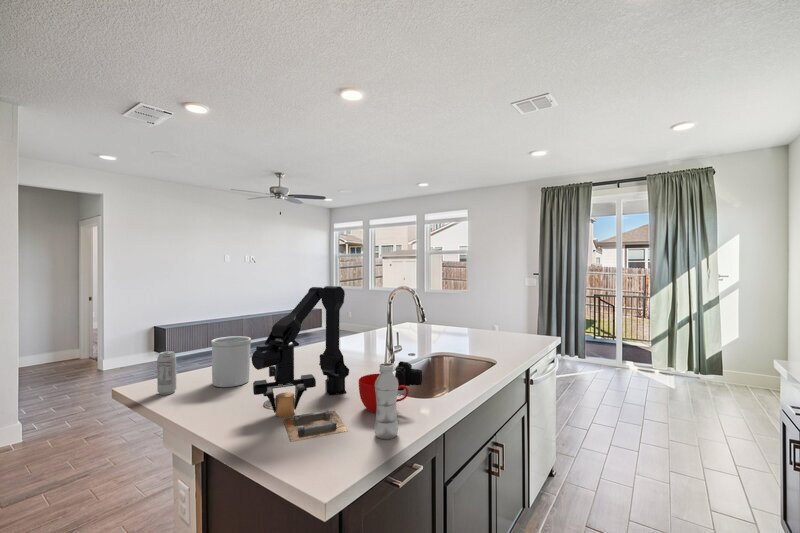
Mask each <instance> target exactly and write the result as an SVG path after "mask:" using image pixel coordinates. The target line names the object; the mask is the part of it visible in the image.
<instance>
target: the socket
mask: <svg viewBox="0 0 800 533" xmlns="http://www.w3.org/2000/svg"><path fill="white" fill-rule="evenodd" d="M283 422H284V426H285V429H286V433H287V436H288V438H289V442H290V443H292V442H297V441H303V440H308V439H315V438H318V437H319V438H320V437H323V436H329V435H335V434H340V433H341V434H342V433H346V431H347V432H349V429H348V427H347V426H346V425H345V423H344V422H343V420H342V418H341V417H340V416H339V414H338V413H337V412H336V410H331V411H329V410H323V411H317V412H309V413H305V414H304V413H303V414H298V415H294V416H292V417H286V418H283Z"/></svg>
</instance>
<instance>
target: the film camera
mask: <svg viewBox="0 0 800 533" xmlns="http://www.w3.org/2000/svg"><path fill="white" fill-rule="evenodd" d="M394 370H395V373H394V376H396V377H397V378H398V386H400V385H405V386H406V387H410V386H421V385H422V383H423V370H421V369H419V368H413V365H412V364H411V363H410V362H407V361H399V362H398V364H397V366H396V367H395V368H394ZM404 390H405V389H404V388H399V389H398V391H404Z"/></svg>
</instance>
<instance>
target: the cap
mask: <svg viewBox="0 0 800 533" xmlns="http://www.w3.org/2000/svg"><path fill="white" fill-rule="evenodd" d="M294 399H295V393H292V392H281V393H278V394H276V395H275V407H276V413H275V416H276V417H279V418H280V417H281V418H288V417H290V416H292V415H294V414H295V410H294Z"/></svg>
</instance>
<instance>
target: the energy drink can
mask: <svg viewBox="0 0 800 533" xmlns="http://www.w3.org/2000/svg"><path fill="white" fill-rule="evenodd" d="M156 359H157V361H156V363H157V366H156V367H157V368H156V369H157V370H156V374H157V376H156V378H157V390H156V391H157V393H158V394H159V395H161V396H165V395H166V396H167V395H171V394H174V393H175V391H176V390H177V355H176V353H175V351H174V350H173V351H172V350H169V351H168V350H167V351H166V350H165V351H162V352H159V353H158V356H157V358H156Z"/></svg>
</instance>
